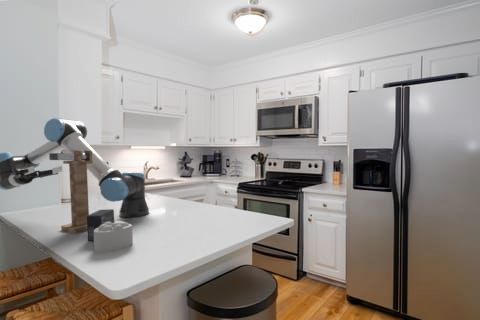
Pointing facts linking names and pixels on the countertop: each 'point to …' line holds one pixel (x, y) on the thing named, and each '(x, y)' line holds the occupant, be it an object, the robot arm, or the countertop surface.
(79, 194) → the stand
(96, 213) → the small box
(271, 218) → the countertop surface
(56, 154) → the lever
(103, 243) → the grey rounded container
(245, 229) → the countertop surface
